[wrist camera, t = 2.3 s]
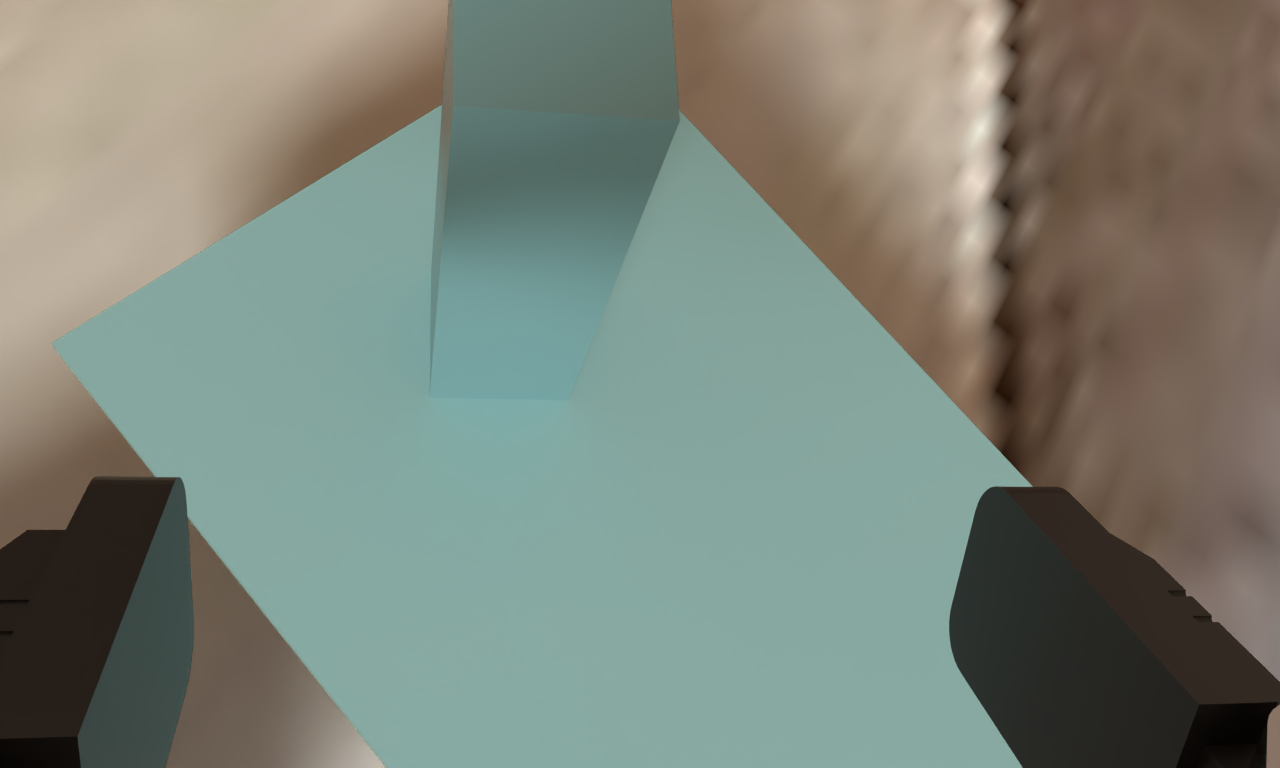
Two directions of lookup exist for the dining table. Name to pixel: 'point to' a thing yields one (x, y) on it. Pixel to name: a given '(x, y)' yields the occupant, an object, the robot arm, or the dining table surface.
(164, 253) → the dining table surface
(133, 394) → the lid
